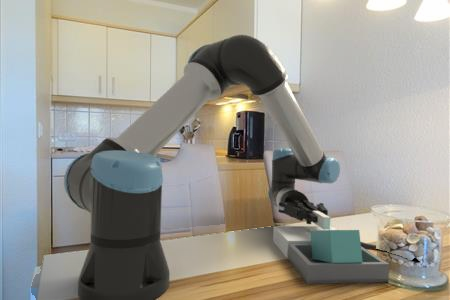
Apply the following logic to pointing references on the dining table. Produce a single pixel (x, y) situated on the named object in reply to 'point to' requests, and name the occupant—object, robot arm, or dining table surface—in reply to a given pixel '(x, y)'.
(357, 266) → the tray
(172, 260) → the dining table surface
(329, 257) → the block
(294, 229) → the white flat box
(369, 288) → the dining table surface
